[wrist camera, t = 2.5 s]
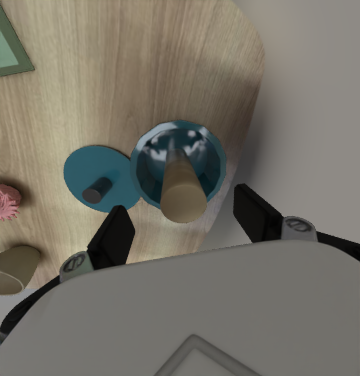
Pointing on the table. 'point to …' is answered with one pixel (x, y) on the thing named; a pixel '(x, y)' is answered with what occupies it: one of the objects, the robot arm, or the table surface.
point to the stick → (181, 189)
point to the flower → (8, 201)
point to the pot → (176, 139)
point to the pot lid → (100, 178)
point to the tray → (11, 50)
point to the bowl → (17, 269)
